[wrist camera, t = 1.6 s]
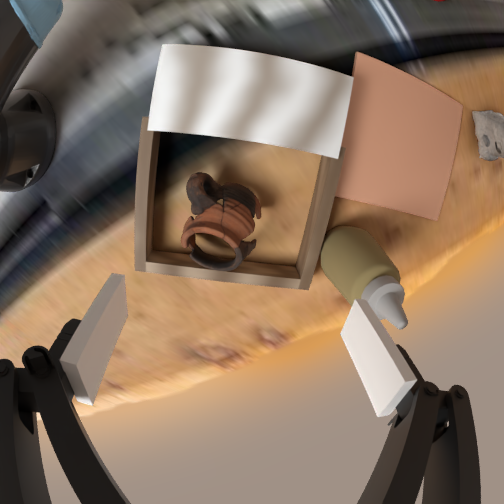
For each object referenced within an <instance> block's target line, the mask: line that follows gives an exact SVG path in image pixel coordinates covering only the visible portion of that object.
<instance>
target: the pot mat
mask: <svg viewBox="0 0 504 504" xmlns="http://www.w3.org/2000/svg"><path fill="white" fill-rule="evenodd" d="M352 77H354V79H353V85H352V91H351V96H350V102H349V107H348V113H347V118H346V123H345V128H344V133H343V138H342V143H341V147H345V148H346V150H345V155H344V159H343V164H342V168H341V172H340V177H339V181H338V185H337V189H336V193H335V196H336V197H341V198H346V199H350V200H355V201H359V202H364V203H368V204H372V205H377V206H381V207H385V208H389V209H393V210H397V211H401V212H405V213H409V214H413V215H417V216H420V217H424V218H428V219H431V220H435V221H437V220H438V217H439V214H440V211H441V207H442V204H443V201H444V197H445V193H446V190H447V186H448V182H449V178H450V174H451V170H452V166H453V161H454V157H455V152H456V147H457V142H458V136H459V130H460V124H461V117H462V110H463V105H461V104H460V103H458V102H457V101H455V100H454V99H452V98H451V97H449V96H447V95H446V94H444V93H442V92H441V91H439V90H437V89H436V88H434V87H432V86H430V85H429V84H427V83H425V82H423V81H421V80H419V79H417V78H416V77H414V76H412V75H410V74H408V73H406V72H404V71H402V70H399V69H397V68H395V67H393V66H391V65H389V64H386V63H384V62H382V61H380V60H377V59H375V58H372V57H370V56H367V55H365V54H362V53H360V52H356V53H355V60H354V67H353V73H352Z"/></svg>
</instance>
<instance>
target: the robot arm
mask: <svg viewBox="0 0 504 504" xmlns="http://www.w3.org/2000/svg"><path fill="white" fill-rule="evenodd" d="M62 11H63V3H62V0H0V191H2V192H16V191H20V190H23V189H25V188H27V187H29V186H31V185H33V184H34V183H36V182H37V181H38V180H39V179H40V178H41V177H42V175H43V174H44V173H45V171H46V169H47V167H48V165H49V163H50V161H51V158H52V155H53V151H54V146H55V139H56V124H55V117H54V113H53V110H52V107H51V105H50V103H49V101H48V100H47V99H46V97H45V96H44V95H43V94H41V93H40V92H38V91H36V90H32V89H18V90H14V91H12V90H13V88H14V86H15V84H16V83H17V81H18V79H19V78H20V76H21V74H22V73H23V71H24V69H25V68H26V66H27V65H28V63H29V62H30V60H31V59H32V57H33V56H34V54H35V53H36V51H37V50H38V49H40V48H41V47H42V45H43V41H44V39H45V38H46V36H47V35H48V33H49V32H50V31H51V29H52V28H53V26H54V25H55V24H56V22H57V21H58V20H59V18H60V16H61V14H62ZM127 316H128V310H127V300H126V288H125V275H121V274H115V273H112V274H111V275H110V277H109V278H108V280H107V281H106V283H105V284H104V286H103V287H102V289H101V290H100V292H99V294H98V295H97V297H96V298H95V300H94V301H93V303H92V305H91V306H90V308H89V309H88V311H87V313H86V314H85V316H84V318H83V319H82V320H78V319H71V320H70V321H69V322H67V323H66V324H65V325H64V327H63V328H62V330H61V333H59V335H58V336H57V339H56V340H55V341H54V343H53V345H52V346H51V348H50V350H49V351H48V349H46V348H45V347H43V346H32V347H30V348H28V349H27V350H26V351H25V352H24V354H23V356H22V362H23V364H24V366H25V368H15V366H14V365H13V363H12V361H10V360H8V359H0V504H52V503H51V500H50V496H49V493H48V488H47V484H46V479H45V475H44V469H43V464H42V458H41V452H40V445H39V437H38V429H37V417H36V412H40V415H41V418H42V420H43V423H44V426H45V429H46V431H47V434H48V436H49V439H50V441H51V444H52V446H53V448H54V451H55V453H56V455H57V458H58V460H59V462H60V464H61V466H62V468H63V470H64V472H65V474H66V476H67V478H68V480H69V482H70V484H71V486H72V488H73V489H74V491H75V493H76V495H77V497H78V498H79V500H80V502H81V503H82V504H131V503H130V502H129V501H128V499H127V498H126V496H125V495H124V494H123V492H122V491H121V489H120V488H119V486H118V485H117V483H116V482H115V480H114V479H113V478H112V476H111V474H110V473H109V471H108V470H107V468H106V466H105V465H104V463H103V461H102V460H101V458H100V456H99V455H98V453H97V451H96V449H95V448H94V446H93V444H92V442H91V440H90V438H89V436H88V434H87V433H86V430H85V429H84V427H83V425H82V422H81V420H80V418H79V416H78V414H77V412H76V410H75V407H74V405H73V403H72V398H73V396H74V395H75V397H76V399H77V401H78V402H82V403H85V404H89V405H92V406H93V404H94V401H95V398H96V395H97V392H98V389H99V386H100V384H101V381H102V378H103V375H104V373H105V370H106V368H107V365H108V362H109V360H110V357H111V355H112V352H113V350H114V347H115V345H116V342H117V340H118V337H119V335H120V333H121V330H122V328H123V326H124V323H125V321H126V319H127ZM340 335H341V337H342V339H343V341H344V343H345V345H346V347H347V349H348V351H349V354H350V356H351V358H352V360H353V362H354V364H355V367H356V369H357V371H358V373H359V376H360V378H361V380H362V382H363V384H364V387H365V389H366V391H367V393H368V396H369V398H370V400H371V402H372V405H373V407H374V409H375V412H376V414H377V417H381V416H386V415H390V414H391V413H392V411H393V410H394V409H395V408H396V409H397V412H398V413H397V414H396V415H395V416H394V418H393V419H392V420H391V421H390V422H389V423H388V425H390V424H391V423H392V426H391V429H390V431H389V434H388V437H387V440H386V442H385V445H384V447H383V450H382V452H381V455H380V457H379V459H378V462H377V464H376V466H375V468H374V471H373V473H372V475H371V477H370V479H369V481H368V483H367V486H366V488H365V490H364V492H363V493H362V495H361V497H360V499H359V501H358V503H357V504H415V501H416V498H417V495H418V493H419V490H420V486H421V483H422V480H423V477H424V488H423V499H422V504H481V485H480V467H479V456H478V447H477V439H476V433H475V426H474V420H473V415H472V409H471V405H470V400H469V396H468V393H467V391H466V390H465V388H463V387H462V386H459V385H454V386H452V387H451V388H450V390H449V391H441V390H439V388H438V387H437V386H436V385H435V384H433V383H431V382H428V381H426V382H425V381H424V379H423V378H422V376H421V374H420V373H419V371H418V369H417V368H416V366H415V365H414V364H413V362H412V360H411V359H410V358H409V355H408V354H407V352H406V351H405V350H404V349H403V348H402V347H401V346H400V345H396V344H395V343H394V342H393V340H392V338H391V337H390V335H389V334H388V332H387V331H386V329H385V328H384V326H383V325H382V323H381V321H380V320H379V318H378V317H377V315H376V314H375V312H374V311H373V310H372V308H371V307H370V305H369V304H368V302H367V301H366V299H355V300H354V303H353V305H352V308H351V310H350V313H349V315H348V317H347V320H346V322H345V324H344V327H343V329H342V331H341V334H340ZM448 421H449V426H448V427H447V422H448Z"/></svg>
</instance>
